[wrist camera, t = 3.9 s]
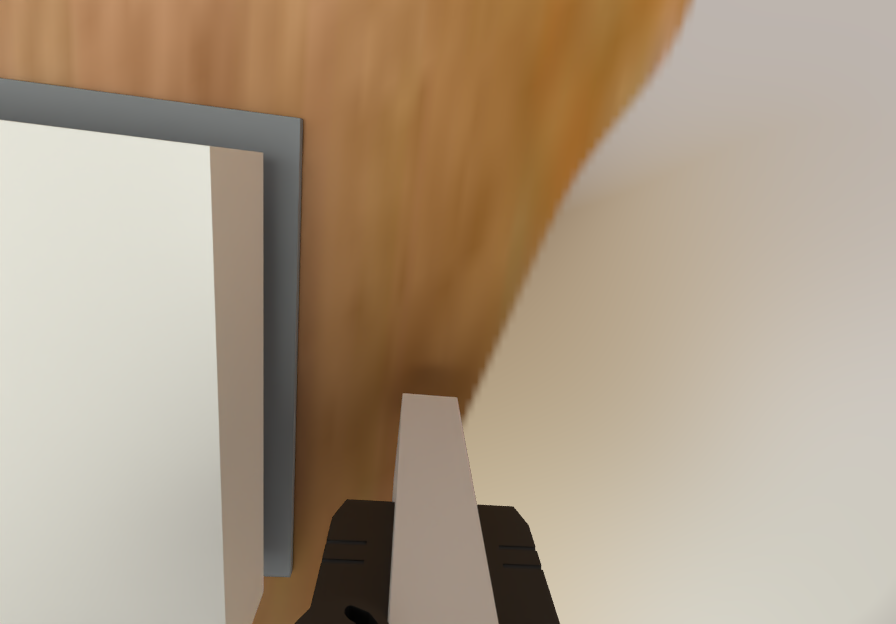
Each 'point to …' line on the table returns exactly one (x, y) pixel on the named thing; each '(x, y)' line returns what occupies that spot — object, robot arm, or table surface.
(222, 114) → the mat
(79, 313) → the plate
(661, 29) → the table surface
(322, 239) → the table surface
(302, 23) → the table surface
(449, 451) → the robot arm
